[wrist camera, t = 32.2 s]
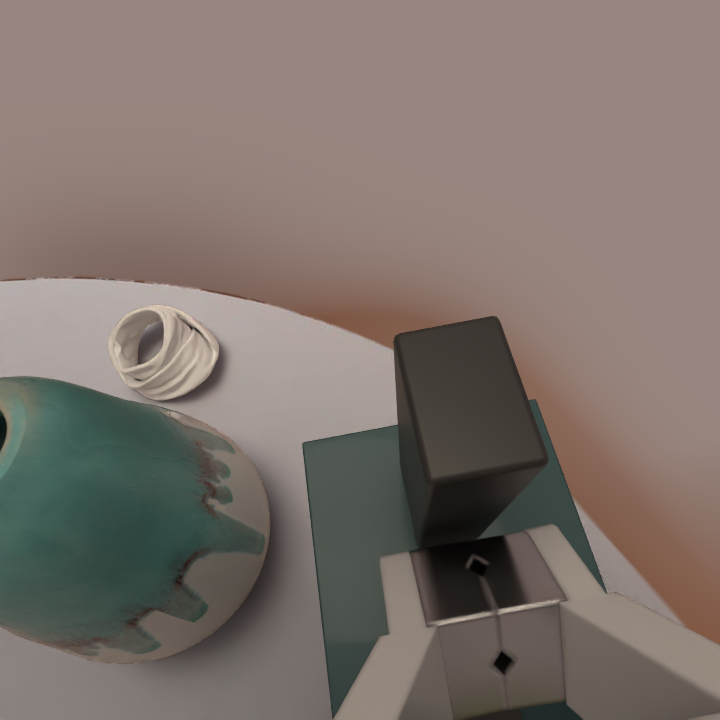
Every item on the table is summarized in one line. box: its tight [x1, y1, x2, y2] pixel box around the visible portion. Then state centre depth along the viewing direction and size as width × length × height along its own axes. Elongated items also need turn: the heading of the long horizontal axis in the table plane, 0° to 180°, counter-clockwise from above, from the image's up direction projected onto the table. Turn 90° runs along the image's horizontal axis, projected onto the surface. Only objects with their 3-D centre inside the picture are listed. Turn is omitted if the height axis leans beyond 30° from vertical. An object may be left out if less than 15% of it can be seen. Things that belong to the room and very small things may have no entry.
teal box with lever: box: [302, 399, 607, 720], centre depth 18 cm, size 6×10×18 cm, turn 9°
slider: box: [393, 316, 549, 548], centre depth 8 cm, size 1×2×6 cm
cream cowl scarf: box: [108, 305, 219, 400], centre depth 33 cm, size 8×7×5 cm
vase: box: [0, 376, 270, 664], centre depth 21 cm, size 12×12×18 cm
